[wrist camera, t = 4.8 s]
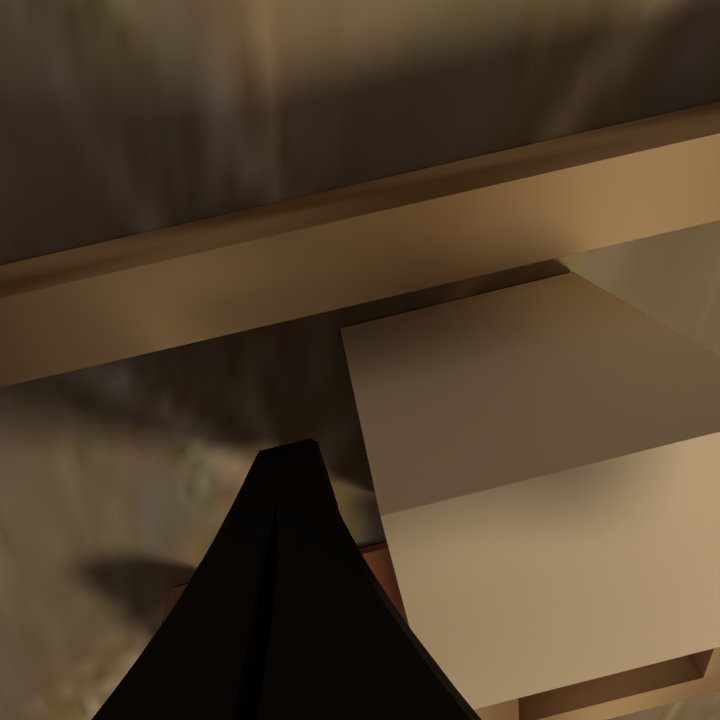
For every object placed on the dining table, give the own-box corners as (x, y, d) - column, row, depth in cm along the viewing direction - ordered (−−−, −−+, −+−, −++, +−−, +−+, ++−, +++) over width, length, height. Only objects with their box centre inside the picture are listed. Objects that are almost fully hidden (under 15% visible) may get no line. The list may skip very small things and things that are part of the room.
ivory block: (382, 496, 12) (434, 720, 8) (339, 328, 9) (379, 516, 5) (566, 450, 12) (723, 645, 8) (573, 271, 9) (811, 408, 5)
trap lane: (255, 716, 16) (248, 831, 14) (-38, 273, 8) (-199, 354, 5) (818, 576, 17) (916, 662, 14) (1103, 13, 8) (1473, -31, 6)
